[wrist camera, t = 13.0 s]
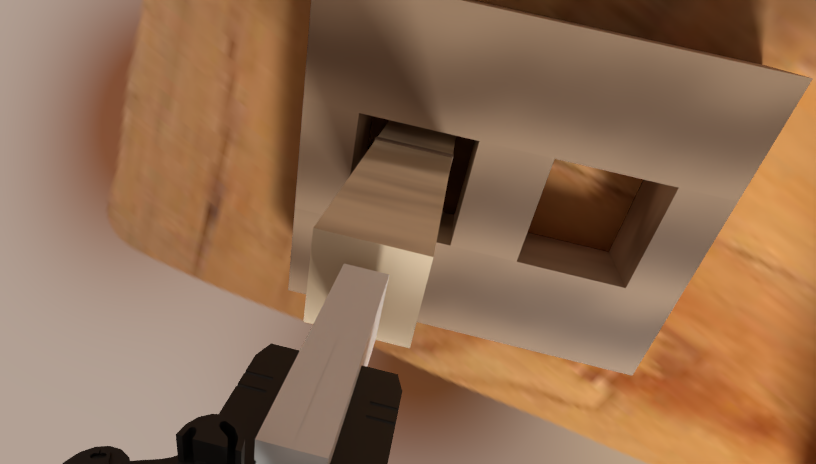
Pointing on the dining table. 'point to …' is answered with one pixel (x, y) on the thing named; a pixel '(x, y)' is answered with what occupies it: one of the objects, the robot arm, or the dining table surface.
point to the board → (540, 159)
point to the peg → (386, 224)
